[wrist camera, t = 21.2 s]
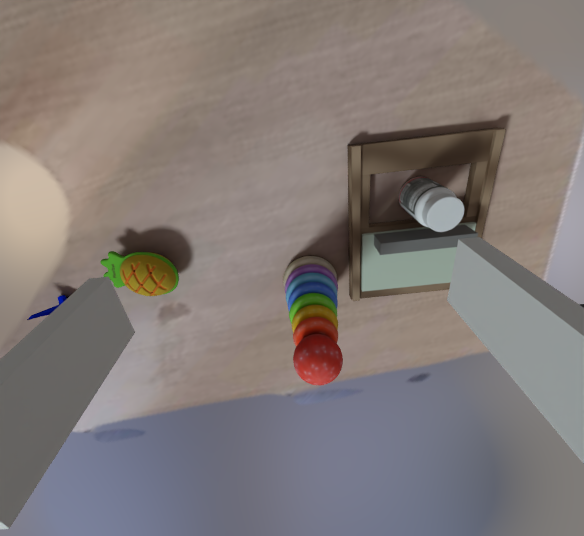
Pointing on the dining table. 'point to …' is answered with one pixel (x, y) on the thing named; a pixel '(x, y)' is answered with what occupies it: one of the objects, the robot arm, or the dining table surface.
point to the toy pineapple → (142, 272)
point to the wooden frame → (408, 156)
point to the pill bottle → (431, 204)
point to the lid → (410, 256)
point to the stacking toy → (314, 318)
